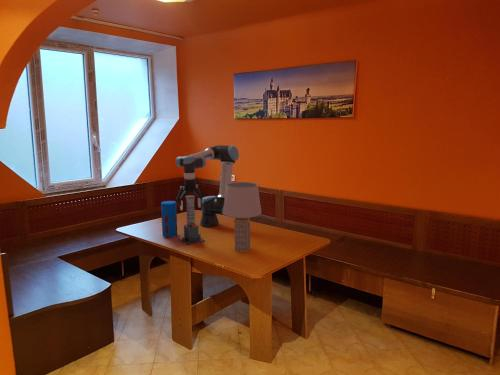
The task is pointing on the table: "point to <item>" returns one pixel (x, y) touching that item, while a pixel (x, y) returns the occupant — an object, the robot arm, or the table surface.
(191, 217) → the column
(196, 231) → the stand base
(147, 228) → the table surface
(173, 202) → the thermos
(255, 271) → the table surface
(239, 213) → the lamp
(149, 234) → the table surface
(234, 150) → the robot arm
